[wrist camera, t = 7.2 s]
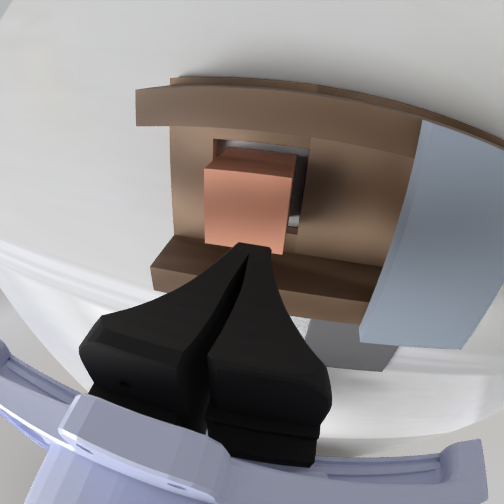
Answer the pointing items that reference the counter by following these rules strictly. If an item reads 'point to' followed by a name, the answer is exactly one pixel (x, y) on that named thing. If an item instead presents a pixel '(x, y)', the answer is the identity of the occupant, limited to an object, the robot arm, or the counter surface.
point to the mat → (346, 347)
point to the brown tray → (316, 182)
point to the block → (248, 198)
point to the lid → (442, 246)
